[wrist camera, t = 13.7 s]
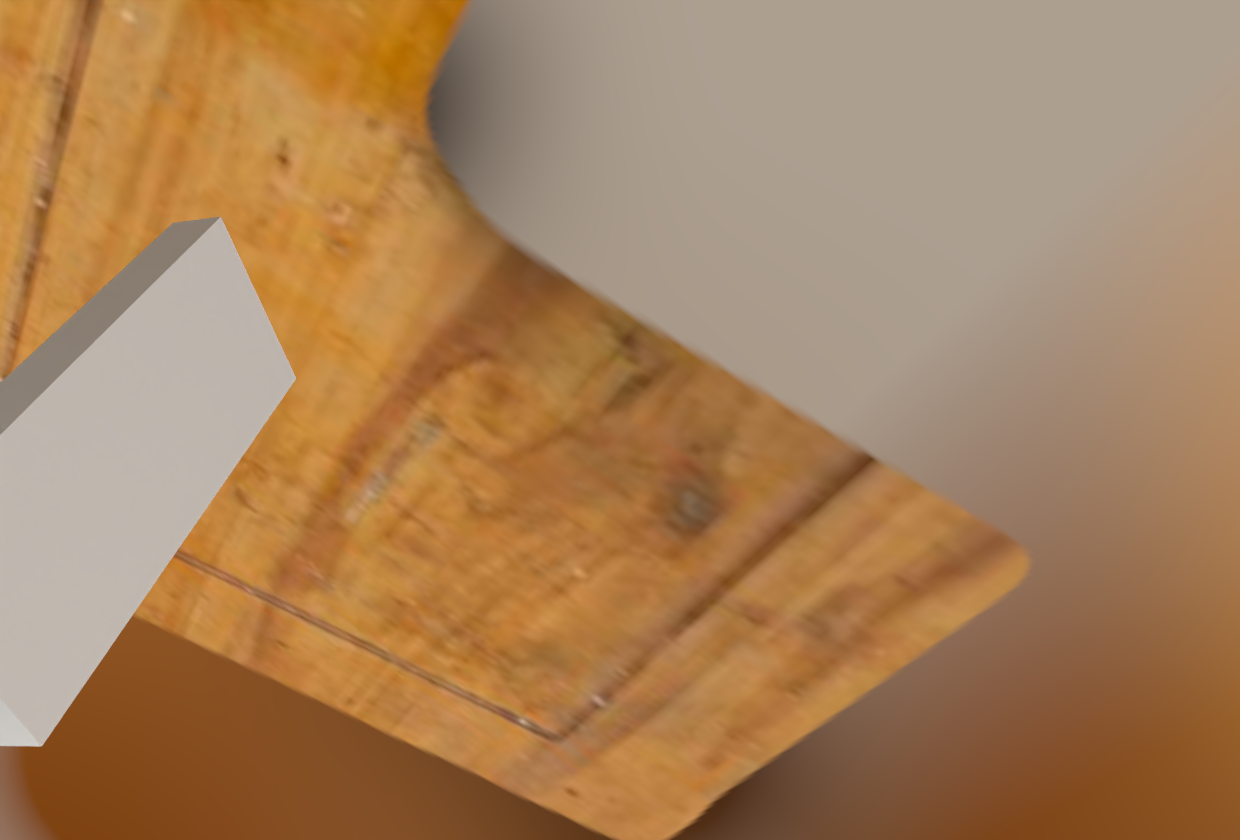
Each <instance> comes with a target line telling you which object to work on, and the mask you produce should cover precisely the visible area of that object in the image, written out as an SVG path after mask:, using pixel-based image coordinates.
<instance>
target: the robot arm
mask: <svg viewBox="0 0 1240 840" xmlns="http://www.w3.org/2000/svg"><path fill="white" fill-rule="evenodd" d="M295 379H296V377H295V375H294V373H293V371H292V369H291V366H290V364H289V362H288V360H287V358H286V356H285V354H284V351H283V349H282V347H281V345H280V343H279V341H278V339H277V336H276V334H275V332H274V330H273V328H272V326H271V324H270V321H269V319H268V317H267V315H266V313H265V311H264V309H263V306H262V304H261V302H260V300H259V298H258V296H257V294H256V291H255V289H254V287H253V285H252V283H251V281H250V279H249V276H248V274H247V272H246V270H245V268H244V266H243V263H242V261H241V259H240V257H239V255H238V253H237V251H236V248H235V246H234V244H233V242H232V240H231V238H230V236H229V233H228V231H227V229H226V227H225V225H224V223H223V221H222V218H221V217H215V218H208V219H200V220H192V221H185V222H177V223H173V224H171V225H170V226H169V227H168V228H167V229H166V230H165V231H164V232H163V233H162V234H161V235H160V236H159V237H157V238H156V239H155V240H154V241H153V242H152V243H151V244H150V245H149V246H148V247H147V248H146V249H144V250H143V251H142V252H141V253H140V254H139V255H138V256H137V257H136V258H135V259H134V260H133V261H131V262H130V263H129V264H128V265H127V266H126V267H125V268H124V269H123V270H122V271H121V272H120V273H119V274H117V275H116V276H115V277H114V278H113V279H112V280H111V281H110V282H109V283H108V284H107V285H106V286H104V287H103V288H102V289H101V290H100V291H99V292H98V293H97V294H96V295H95V296H94V297H93V298H92V299H90V300H89V301H88V302H87V303H86V304H85V305H84V306H83V307H82V308H81V309H80V310H79V311H77V312H76V313H75V314H74V315H73V316H72V317H71V318H70V319H69V320H68V321H67V322H66V323H64V324H63V325H62V326H61V327H60V328H59V329H58V330H57V331H56V332H55V333H54V334H53V335H52V336H50V337H49V338H48V339H47V340H46V341H45V342H44V343H43V344H42V345H41V346H40V347H39V348H37V349H36V350H35V351H34V352H33V353H32V354H31V355H30V356H29V357H28V358H27V359H26V360H24V361H23V362H22V363H21V364H20V365H19V366H18V367H17V368H16V369H15V370H14V371H13V372H12V373H10V374H9V375H8V376H7V377H6V378H5V379H4V380H3V381H2V382H1V383H0V746H42V745H43V744H44V742H45V741H46V739H47V738H48V736H49V735H50V734H51V732H52V731H53V729H54V728H55V726H56V725H57V723H58V722H59V721H60V719H61V718H62V716H63V715H64V713H65V712H66V710H67V709H68V708H69V706H70V705H71V703H72V702H73V700H74V699H75V697H76V696H77V694H78V693H79V692H80V690H81V689H82V687H83V686H84V684H85V683H86V682H87V680H88V678H89V677H90V676H91V674H92V673H93V671H94V670H95V668H96V667H97V666H98V664H99V663H100V661H101V660H102V658H103V657H104V656H105V654H106V653H107V651H108V649H109V648H110V647H111V645H112V644H113V642H114V641H115V640H116V638H117V636H118V635H119V633H120V632H121V631H122V629H123V628H124V627H125V625H126V624H127V622H128V621H129V619H130V618H131V616H132V615H133V614H134V612H135V611H136V609H137V608H138V606H139V605H140V603H141V602H142V601H143V599H144V598H145V596H146V595H147V593H148V592H149V590H150V589H151V588H152V586H153V585H154V583H155V582H156V580H157V579H158V577H159V576H160V575H161V573H162V572H163V570H164V569H165V567H166V566H167V564H168V563H169V562H170V560H171V559H172V557H173V556H174V554H175V553H176V551H177V550H178V549H179V547H180V546H181V544H182V543H183V541H184V540H185V538H186V537H187V536H188V534H189V533H190V531H191V530H192V528H193V527H194V525H195V524H196V522H197V521H198V520H199V518H200V517H201V515H202V514H203V512H204V511H205V509H206V508H207V507H208V505H209V504H210V502H211V501H212V499H213V498H214V496H215V495H216V494H217V492H218V491H219V489H220V488H221V486H222V485H223V483H224V482H225V481H226V479H227V478H228V476H229V475H230V473H231V472H232V470H233V469H234V468H235V466H236V465H237V463H238V462H239V460H240V459H241V457H242V456H243V455H244V453H245V452H246V450H247V449H248V447H249V446H250V444H251V443H252V442H253V440H254V439H255V437H256V436H257V434H258V433H259V431H260V430H261V429H262V427H263V426H264V424H265V423H266V421H267V420H268V418H269V417H270V415H271V414H272V413H273V411H274V410H275V408H276V407H277V405H278V404H279V402H280V401H281V400H282V398H283V397H284V395H285V394H286V392H287V391H288V389H289V388H290V387H291V385H292V384H293V382H294V381H295Z"/></svg>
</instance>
